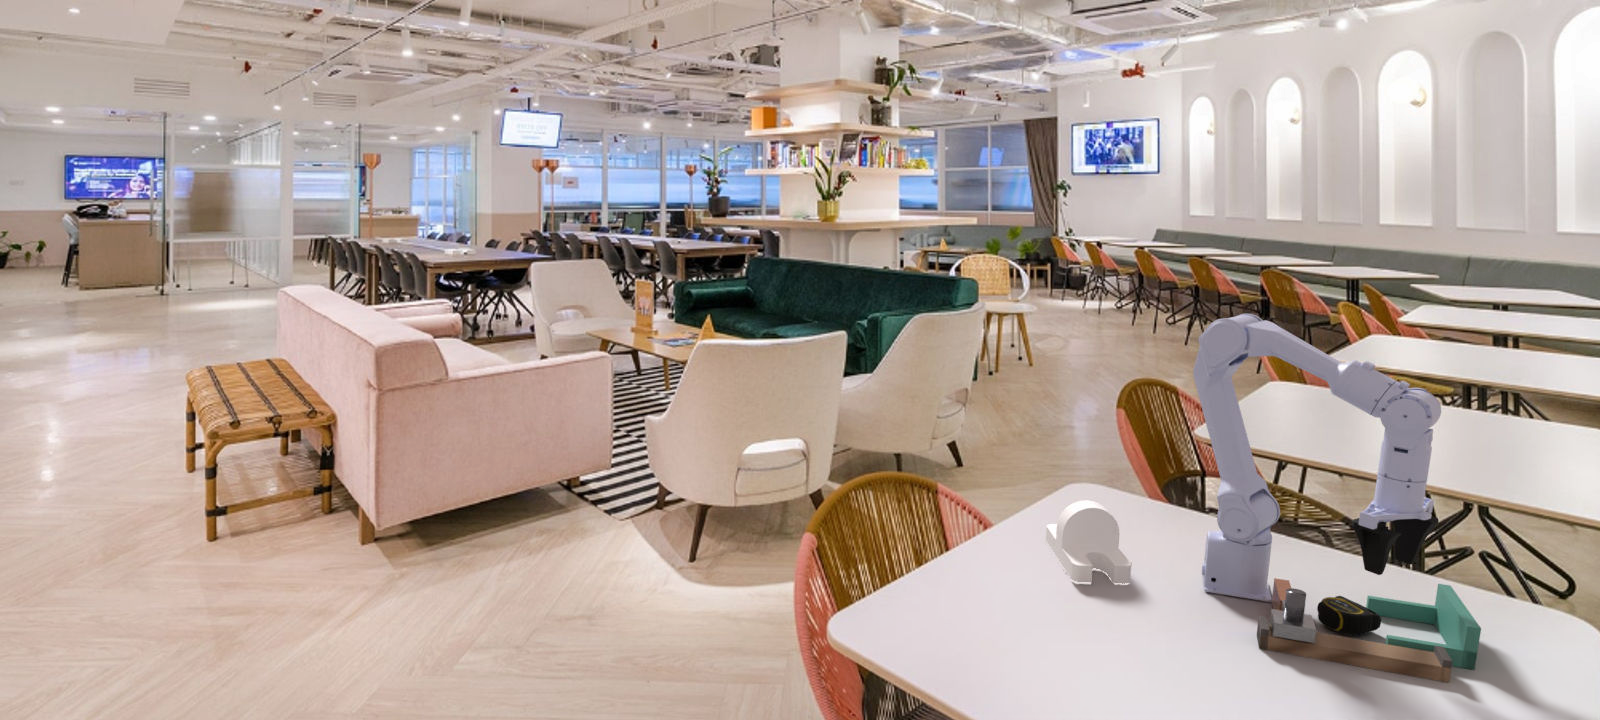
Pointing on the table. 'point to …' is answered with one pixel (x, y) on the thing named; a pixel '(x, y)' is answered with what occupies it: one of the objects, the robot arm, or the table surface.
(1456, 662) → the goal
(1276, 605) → the rod slider
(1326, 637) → the rail
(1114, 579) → the white slotted holder
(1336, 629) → the tape measure
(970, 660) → the table surface
